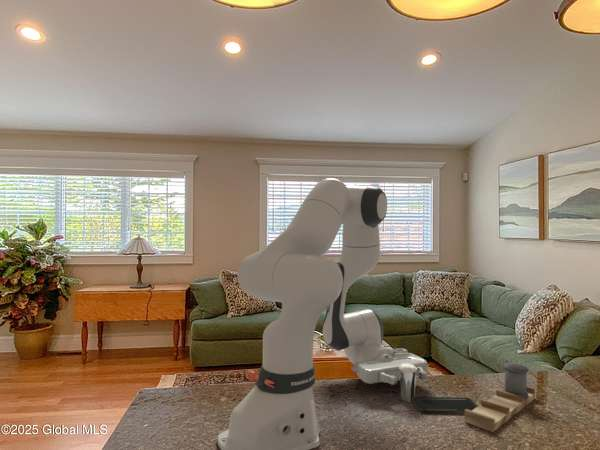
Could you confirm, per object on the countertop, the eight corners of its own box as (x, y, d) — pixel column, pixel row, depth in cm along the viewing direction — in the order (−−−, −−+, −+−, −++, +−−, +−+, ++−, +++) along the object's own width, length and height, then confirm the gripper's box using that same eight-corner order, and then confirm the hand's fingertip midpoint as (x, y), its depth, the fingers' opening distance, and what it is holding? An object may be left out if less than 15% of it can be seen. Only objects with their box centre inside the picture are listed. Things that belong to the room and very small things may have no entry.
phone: (411, 396, 107) (470, 397, 106) (411, 401, 107) (469, 402, 106) (419, 410, 99) (482, 411, 98) (419, 415, 99) (482, 416, 98)
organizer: (492, 432, 90) (493, 419, 90) (464, 421, 95) (464, 410, 95) (534, 398, 107) (534, 388, 107) (509, 391, 112) (509, 381, 112)
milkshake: (421, 404, 104) (421, 364, 104) (399, 402, 105) (399, 363, 105) (418, 396, 108) (419, 358, 108) (398, 395, 109) (398, 357, 109)
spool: (523, 400, 103) (523, 372, 103) (499, 393, 107) (499, 366, 107) (531, 394, 107) (531, 367, 107) (508, 387, 111) (508, 361, 111)
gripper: (348, 355, 115) (375, 371, 102) (408, 347, 123) (441, 362, 110) (348, 378, 115) (375, 397, 102) (408, 368, 123) (440, 385, 110)
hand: (410, 378), depth 106 cm, fingers open, 8 cm apart
